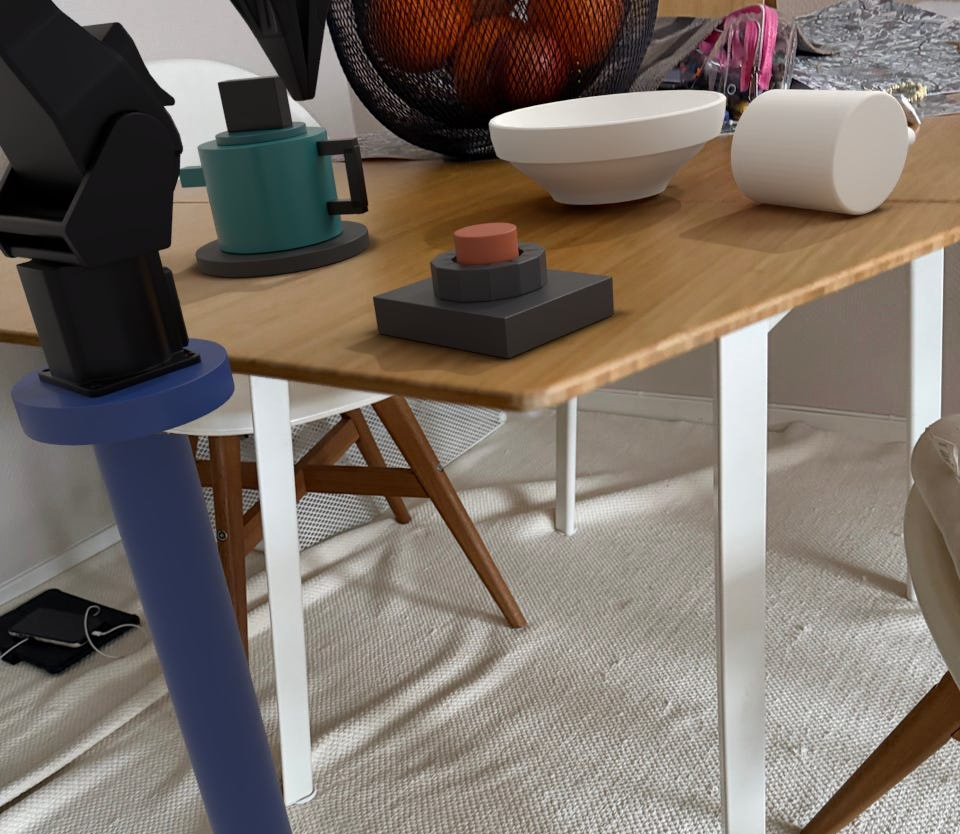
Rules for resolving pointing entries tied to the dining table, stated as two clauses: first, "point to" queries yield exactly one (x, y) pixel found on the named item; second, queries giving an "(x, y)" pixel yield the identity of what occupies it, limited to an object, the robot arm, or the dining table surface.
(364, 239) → the kettle base
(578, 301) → the switch block
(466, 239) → the switch
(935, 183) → the dining table surface
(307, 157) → the kettle
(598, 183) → the bowl
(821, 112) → the mug
